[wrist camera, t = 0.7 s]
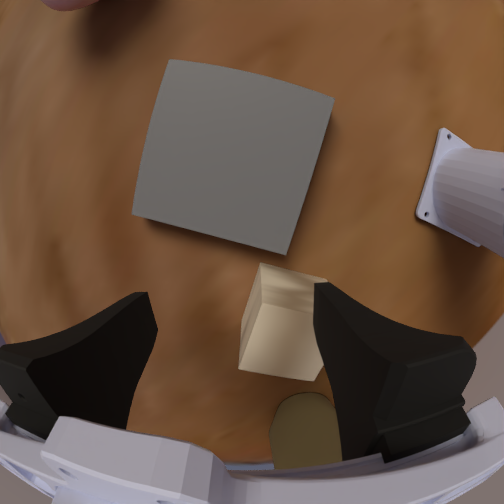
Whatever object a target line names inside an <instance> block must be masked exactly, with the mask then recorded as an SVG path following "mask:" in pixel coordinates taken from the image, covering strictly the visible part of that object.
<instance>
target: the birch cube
mask: <svg viewBox="0 0 504 504" xmlns="http://www.w3.org/2000/svg"><path fill="white" fill-rule="evenodd" d="M321 282H328V281H327V279H323V278H319V277H316V276H312V275H308V274H304V273H300V272H296V271H292V270H289V269H285V268H281V267H277V266H273V265H269V264H266V263H262V262H260V265H259V268H258V271H257V274H256V277H255V281H254V284H253V287H252V290H251V293H250V296H249V299H248V303H247V306H246V309H245V312H244V315H243V318H242V325H241V339H240V353H239V367H238V369H241V370H246V371H251V372H256V373H262V374H267V375H273V376H279V377H286V378H292V379H299V380H306V381H314V380H315V378H316V377H317V375H318V373H319V372H320V370H321V368H322V367H323V365H324V363H323V360H322V358H321V355H320V352H319V349H318V346H317V343H316V338H315V333H314V327H313V305H314V283H321Z"/></svg>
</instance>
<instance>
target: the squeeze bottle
mask: <svg viewBox="0 0 504 504" xmlns="http://www.w3.org/2000/svg"><path fill="white" fill-rule="evenodd" d="M269 438H270V444H271V450H272V456H273V462H274V468H275V470H277V469H291V468H301V467H310V466H317V465H324V464H331V463H336V462H342V452H341V443H340V435H339V427H338V421H337V415H336V409H335V408H334V406H333V405H332V404H331V403H330V401H329V400H328V399H327V398H326V397H325V396H323V395H321V394H318V393H311V392H309V393H301V394H297V395H294V396H291V397H289V398H287V399H286V400H284V401H283V402H281V404H280V405H279V407H278V409H277V412H276V414H275V417H274V420H273V422H272V425H271V428H270V430H269Z"/></svg>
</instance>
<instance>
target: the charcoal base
mask: <svg viewBox="0 0 504 504" xmlns="http://www.w3.org/2000/svg"><path fill="white" fill-rule="evenodd" d="M334 100H335V98H332V97H330V96H327V95H324V94H321V93H319V92H316V91H313V90H310V89H307V88H304V87H301V86H298V85H294V84H291V83H288V82H285V81H281V80H278V79H274V78H270V77H267V76H263V75H259V74H255V73H250V72H246V71H242V70H237V69H232V68H227V67H222V66H216V65H210V64H204V63H197V62H190V61H182V60H173V59H169V62H168V65H167V67H166V70H165V73H164V76H163V79H162V83H161V86H160V89H159V92H158V96H157V99H156V102H155V106H154V109H153V113H152V117H151V121H150V124H149V128H148V132H147V136H146V141H145V145H144V149H143V154H142V159H141V163H140V168H139V173H138V179H137V184H136V190H135V196H134V202H133V209H132V215H136V216H140V217H144V218H147V219H151V220H155V221H159V222H163V223H167V224H170V225H174V226H178V227H182V228H186V229H189V230H193V231H197V232H201V233H205V234H208V235H212V236H216V237H220V238H223V239H227V240H231V241H235V242H238V243H242V244H246V245H250V246H253V247H257V248H261V249H265V250H268V251H272V252H276V253H279V254H283V255H286V253H287V250H288V247H289V245H290V242H291V239H292V236H293V233H294V230H295V227H296V224H297V221H298V218H299V215H300V212H301V209H302V205H303V202H304V199H305V196H306V193H307V190H308V187H309V184H310V180H311V177H312V174H313V171H314V168H315V164H316V161H317V158H318V155H319V151H320V148H321V145H322V141H323V138H324V135H325V131H326V128H327V125H328V121H329V118H330V114H331V111H332V107H333V104H334Z"/></svg>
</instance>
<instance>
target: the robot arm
mask: <svg viewBox="0 0 504 504" xmlns="http://www.w3.org/2000/svg"><path fill="white" fill-rule="evenodd" d="M447 135H448V136H449V139H448V138H447ZM425 212H427V215H426V216H424V214H425ZM416 216H417V217H418V218H420V219H422V220H425V221H427V222H429V223H431V224H433V225H435V226H437V227H439V228H442V229H444V230H446V231H448V232H450V233H452V234H454V235H456V236H458V237H460V238H462V239H464V240H466V241H467V242H469V243H471V244H473V245H475V246H477V247H480V246H481V245H483V246H484V247H486V248H488V249H489V250H491V251H493V252H494V253H496V254H498V255H499V256H501V257H503V258H504V153H502V152H496V151H488V150H481V149H473V148H472V147H471V146H469V145H468V144H467V143H465V142H464V141H463V140H461V139H460V138H458V137H457V136H456V135H454V134H453V133H451V132H450V131H449V130H447V129H445V128H441V129H440V130H439V132H438V137H437V141H436V145H435V149H434V153H433V157H432V160H431V164H430V168H429V171H428V175H427V178H426V181H425V184H424V188H423V191H422V194H421V197H420V200H419V203H418V206H417V209H416ZM313 327H314V333H315V338H316V343H317V346H318V349H319V352H320V355H321V358H322V360H323V363H324V366H325V369H326V372H327V375H328V378H329V381H330V385H331V388H332V393H333V398H334V403H335V409H336V415H337V421H338V427H339V435H340V443H341V452H342V462H336V463H331V464H324V465H317V466H310V467H301V468H291V469H277V470H253V471H251V470H250V471H249V470H248V471H239V470H227V469H226V466H225V464H224V463H223V462H222V461H221V460H220V459H219V458H218V457H216V456H215V455H214V454H213V453H212V452H211V451H210V450H208V449H205V448H203V447H201V446H198V445H196V444H194V443H191V442H189V441H184V440H179V439H175V438H171V437H166V436H160V435H153V434H147V433H140V432H135V431H130V430H126V426H127V421H128V416H129V412H130V407H131V404H132V400H133V396H134V392H135V390H136V387H137V384H138V382H139V379H140V377H141V375H142V372H143V370H144V368H145V366H146V363H147V361H148V359H149V356H150V354H151V352H152V349H153V347H154V343H155V340H156V336H157V332H158V328H157V324H156V321H155V318H154V314H153V311H152V307H151V304H150V300H149V296H148V292H135V293H132V294H130V295H128V296H126V297H124V298H123V299H121V300H119V301H118V302H116V303H114V304H113V305H111V306H109V307H108V308H106V309H104V310H103V311H101V312H99V313H97V314H96V315H94V316H92V317H90V318H89V319H87V320H85V321H83V322H81V323H79V324H77V325H75V326H73V327H70V328H68V329H66V330H63V331H61V332H58V333H55V334H52V335H49V336H47V337H43V338H39V339H36V340H31V341H27V342H21V343H14V344H6V345H3V346H1V347H0V385H1V386H2V388H3V389H4V391H5V392H6V394H7V395H8V396H9V398H10V399H11V400H12V402H13V403H12V404H11V405H10V406H8V405H7V404H6V403H5V402H4V401H2V400H0V464H1V465H2V466H4V467H5V468H6V469H8V470H9V471H10V472H12V473H13V474H15V475H16V476H17V477H19V478H20V479H22V480H23V481H25V482H26V483H28V484H29V485H31V486H33V487H34V488H36V489H37V490H39V491H40V492H42V493H44V494H45V495H47V496H49V497H50V498H52V499H53V501H52V504H446V503H448V502H450V501H451V500H453V499H455V498H457V497H459V496H461V495H462V494H464V493H466V492H467V491H469V490H471V489H472V488H474V487H476V486H477V485H479V484H480V483H482V482H484V481H485V480H486V479H488V478H489V477H490V476H491V475H492V474H494V473H495V472H496V471H497V470H498V469H499V468H500V467H502V466H503V465H504V409H503V408H502V406H501V405H500V403H499V402H498V400H497V399H496V397H491V398H489V399H488V400H486V401H484V402H482V403H480V404H478V405H476V406H474V407H473V408H471V409H470V410H469V411H468V412H467V413H465V411H464V409H463V408H462V406H464V404H465V400H464V398H463V397H462V395H461V394H462V392H463V391H464V389H465V387H466V385H467V383H468V382H469V380H470V378H471V376H472V374H473V371H474V369H475V366H476V359H477V358H476V354H475V352H474V351H473V349H472V348H471V347H470V346H469V345H468V343H467V342H466V341H465V340H464V339H463V337H460V336H452V335H444V334H437V333H432V332H428V331H423V330H420V329H416V328H412V327H409V326H407V325H404V324H401V323H398V322H395V321H393V320H391V319H388V318H386V317H384V316H382V315H380V314H378V313H376V312H374V311H372V310H370V309H369V308H367V307H365V306H364V305H362V304H360V303H359V302H357V301H356V300H354V299H353V298H351V297H350V296H348V295H347V294H345V293H344V292H343V291H341V290H340V289H338V288H337V287H336V286H334V285H333V284H331V283H329V282H321V283H314V305H313Z"/></svg>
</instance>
